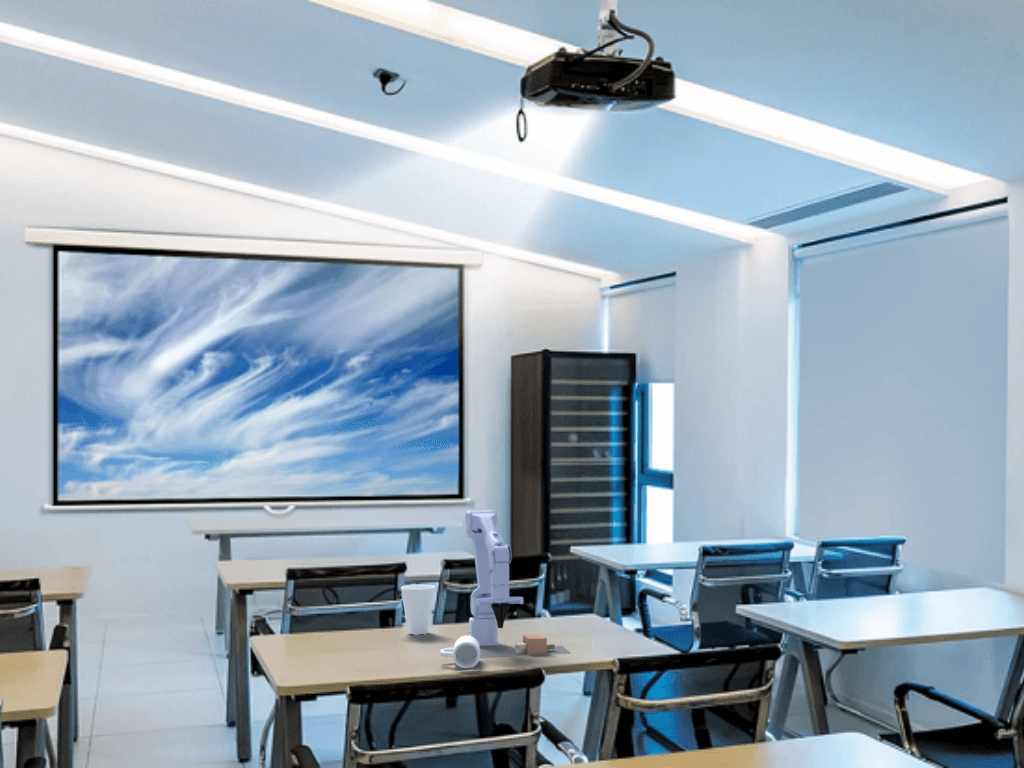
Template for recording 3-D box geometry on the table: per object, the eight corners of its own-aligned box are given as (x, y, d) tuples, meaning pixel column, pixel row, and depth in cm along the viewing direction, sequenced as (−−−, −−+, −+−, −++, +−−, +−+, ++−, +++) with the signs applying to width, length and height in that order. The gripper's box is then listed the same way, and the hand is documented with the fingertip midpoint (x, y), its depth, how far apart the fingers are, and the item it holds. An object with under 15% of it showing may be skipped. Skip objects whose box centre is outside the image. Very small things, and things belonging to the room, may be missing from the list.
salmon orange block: (528, 654, 327) (528, 639, 327) (523, 649, 335) (522, 634, 335) (547, 653, 328) (546, 638, 328) (541, 648, 336) (541, 633, 336)
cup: (398, 631, 370) (397, 585, 370) (431, 628, 373) (430, 583, 374) (404, 637, 358) (404, 590, 359) (438, 635, 362) (438, 588, 363)
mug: (480, 661, 320) (479, 635, 320) (480, 669, 310) (479, 641, 310) (440, 662, 320) (440, 635, 320) (439, 669, 310) (439, 642, 310)
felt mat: (469, 659, 323) (469, 658, 323) (464, 651, 334) (464, 650, 334) (571, 654, 329) (571, 653, 329) (562, 646, 340) (562, 645, 340)
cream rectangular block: (517, 653, 329) (517, 644, 329) (515, 651, 332) (515, 643, 332) (555, 651, 331) (555, 643, 332) (553, 649, 334) (553, 641, 334)
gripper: (479, 586, 325) (479, 631, 325) (525, 585, 328) (525, 629, 327) (475, 583, 332) (475, 626, 332) (520, 581, 335) (521, 624, 334)
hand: (500, 627), depth 330 cm, fingers closed
